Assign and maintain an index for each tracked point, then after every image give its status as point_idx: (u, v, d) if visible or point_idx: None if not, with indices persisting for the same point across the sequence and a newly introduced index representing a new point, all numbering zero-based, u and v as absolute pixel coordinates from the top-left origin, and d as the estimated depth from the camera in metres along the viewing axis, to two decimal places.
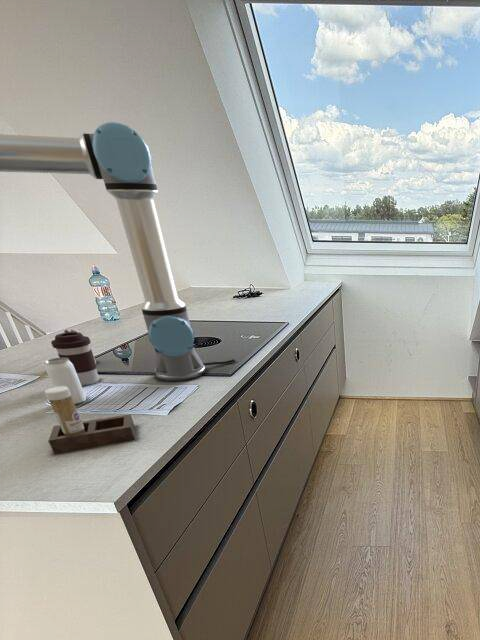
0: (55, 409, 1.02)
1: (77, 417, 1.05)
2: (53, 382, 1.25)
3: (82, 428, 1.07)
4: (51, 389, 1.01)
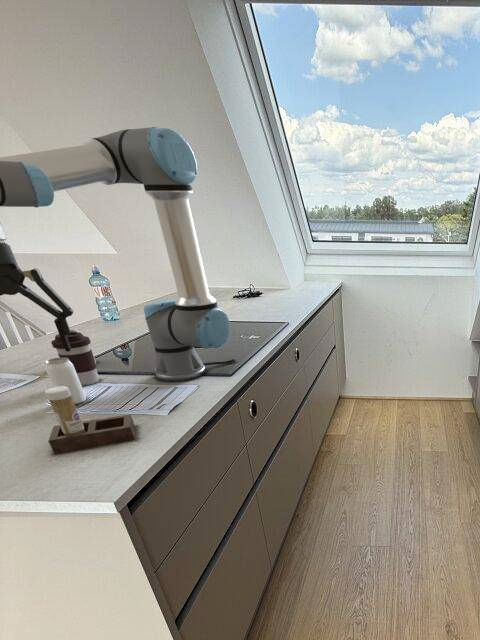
0: (55, 409, 1.02)
1: (77, 417, 1.05)
2: (53, 382, 1.25)
3: (82, 428, 1.07)
4: (51, 389, 1.01)
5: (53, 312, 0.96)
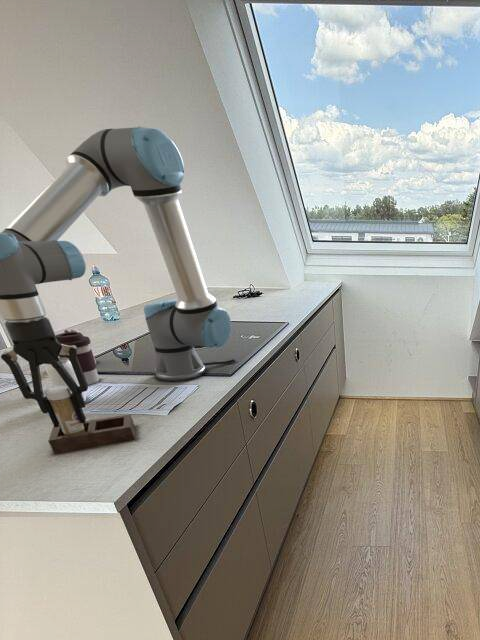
0: (55, 409, 1.02)
1: (77, 417, 1.05)
2: (53, 382, 1.25)
3: (82, 428, 1.07)
4: (51, 389, 1.01)
5: (72, 387, 1.02)
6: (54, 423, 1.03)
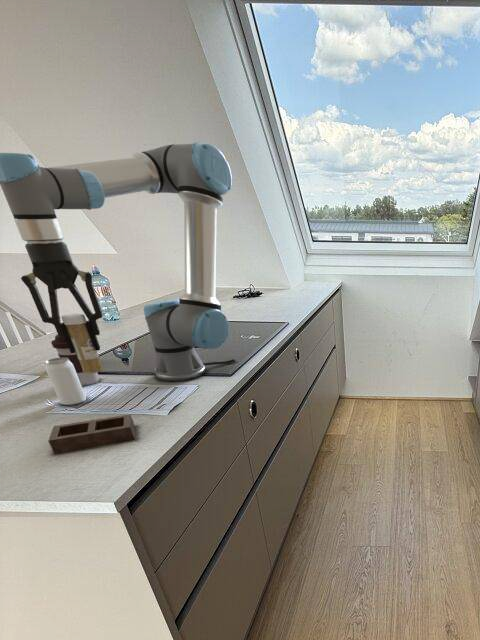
0: (71, 334, 1.06)
1: (92, 344, 1.10)
2: (53, 382, 1.25)
3: (97, 356, 1.11)
4: (68, 315, 1.06)
5: (87, 313, 1.06)
6: (70, 349, 1.08)
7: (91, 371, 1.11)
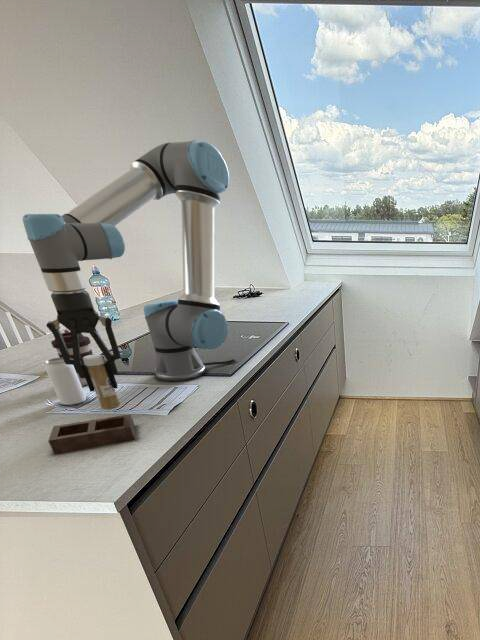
0: (91, 374, 1.13)
1: (110, 382, 1.17)
2: (53, 382, 1.25)
3: (114, 393, 1.18)
4: (88, 356, 1.13)
5: (107, 355, 1.13)
6: (90, 387, 1.15)
7: (109, 407, 1.18)
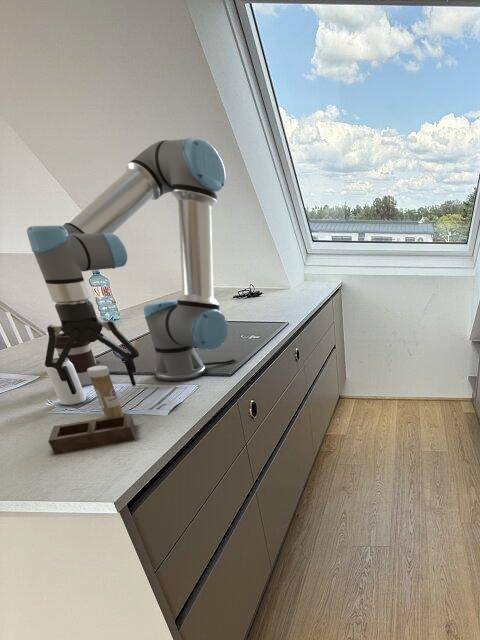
0: (96, 386, 1.15)
1: (114, 393, 1.18)
2: (53, 382, 1.25)
3: (118, 403, 1.20)
4: (92, 368, 1.14)
5: (124, 354, 1.15)
6: (72, 390, 1.13)
7: None
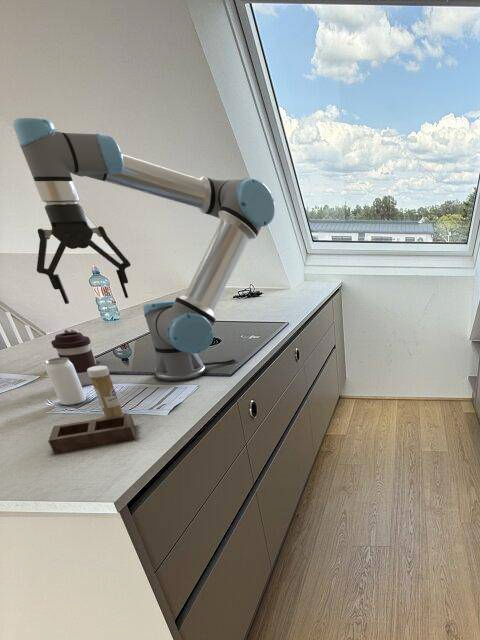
0: (96, 386, 1.15)
1: (114, 393, 1.18)
2: (53, 382, 1.25)
3: (118, 403, 1.20)
4: (92, 368, 1.14)
5: (115, 263, 1.15)
6: (64, 299, 1.14)
7: None
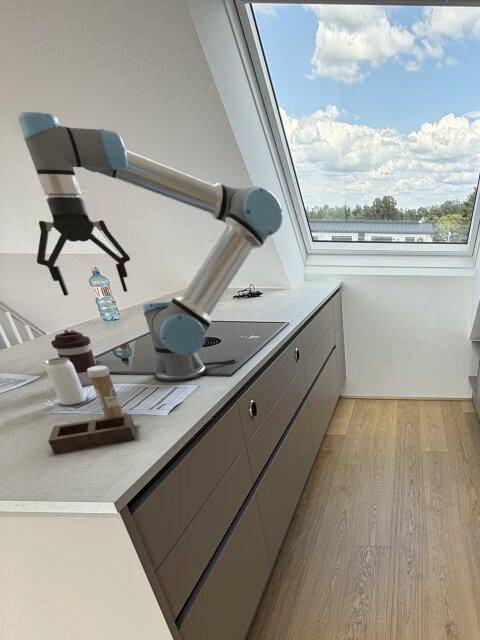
0: (96, 386, 1.15)
1: (114, 393, 1.18)
2: (53, 382, 1.25)
3: (118, 403, 1.20)
4: (92, 368, 1.14)
5: (115, 257, 1.16)
6: (63, 291, 1.15)
7: None
